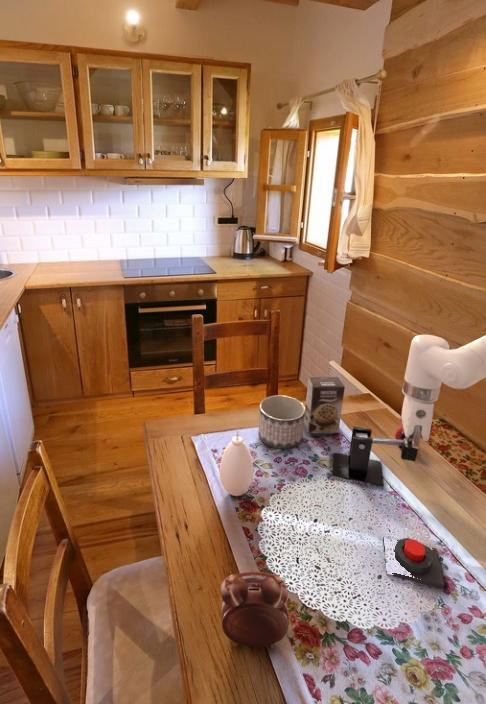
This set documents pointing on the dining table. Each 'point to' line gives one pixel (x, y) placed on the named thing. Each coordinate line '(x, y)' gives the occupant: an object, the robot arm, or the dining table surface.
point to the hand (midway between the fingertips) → (406, 453)
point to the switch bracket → (358, 461)
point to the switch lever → (384, 440)
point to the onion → (398, 433)
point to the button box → (420, 566)
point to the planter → (281, 421)
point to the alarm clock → (254, 609)
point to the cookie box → (323, 404)
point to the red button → (414, 550)
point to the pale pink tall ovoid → (236, 467)
